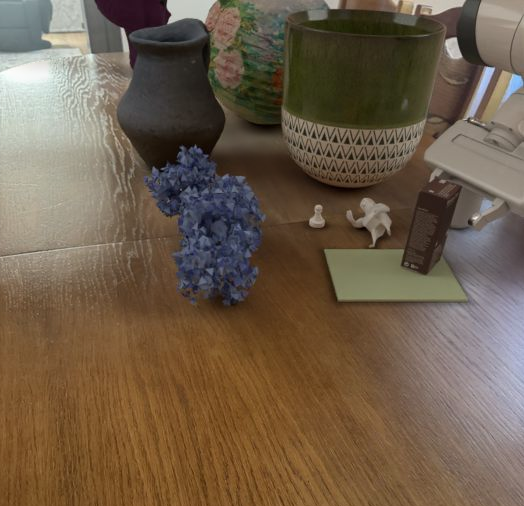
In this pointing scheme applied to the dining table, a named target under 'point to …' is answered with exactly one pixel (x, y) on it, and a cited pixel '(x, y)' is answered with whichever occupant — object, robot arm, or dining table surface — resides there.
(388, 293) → the mat
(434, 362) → the dining table surface
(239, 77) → the floral painted vase
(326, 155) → the planter
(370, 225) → the figurine
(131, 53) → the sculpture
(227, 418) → the dining table surface
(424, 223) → the box
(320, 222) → the chess pawn
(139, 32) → the pitcher
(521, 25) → the robot arm
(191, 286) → the decorative sculpture
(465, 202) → the can
